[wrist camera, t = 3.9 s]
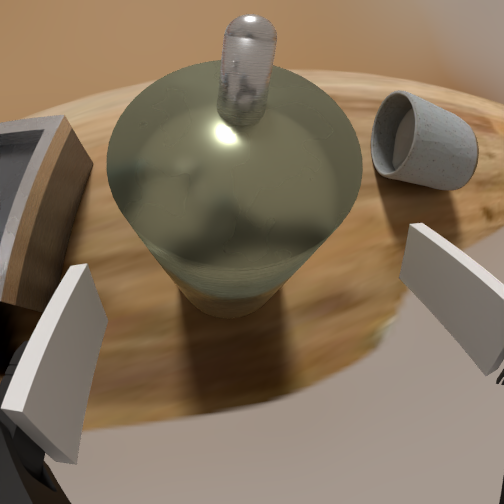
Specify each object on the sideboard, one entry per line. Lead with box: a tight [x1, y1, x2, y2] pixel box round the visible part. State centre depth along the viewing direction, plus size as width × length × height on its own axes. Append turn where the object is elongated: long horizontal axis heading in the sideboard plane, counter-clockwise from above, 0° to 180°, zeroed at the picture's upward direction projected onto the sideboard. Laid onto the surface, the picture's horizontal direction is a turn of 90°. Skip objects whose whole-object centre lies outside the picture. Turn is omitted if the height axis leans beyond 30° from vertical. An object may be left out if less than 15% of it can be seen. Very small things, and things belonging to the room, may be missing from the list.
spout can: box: [107, 14, 362, 319], centre depth 13 cm, size 7×7×16 cm
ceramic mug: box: [371, 91, 479, 190], centre depth 22 cm, size 11×8×8 cm
